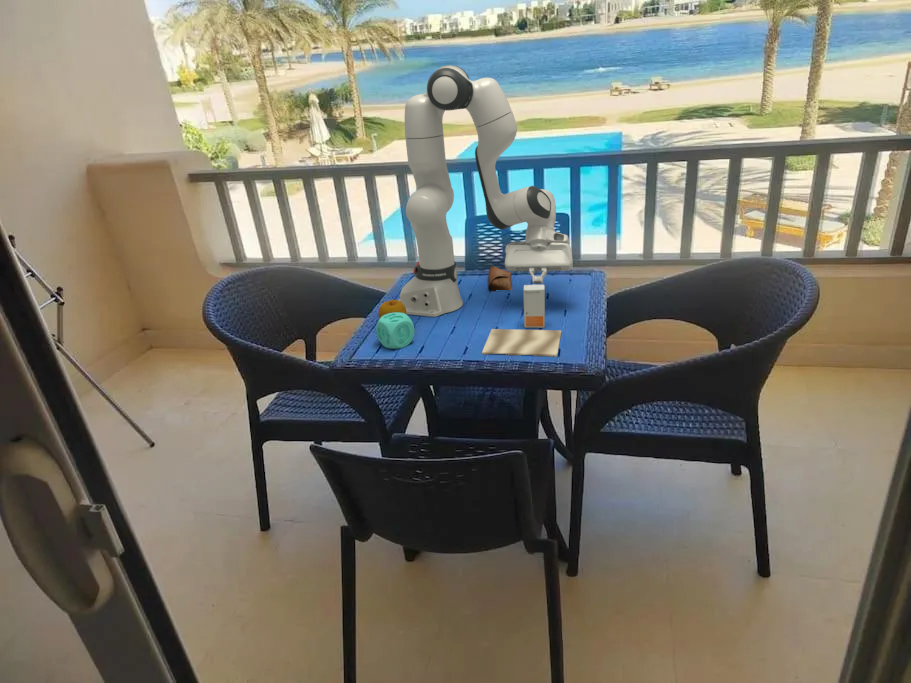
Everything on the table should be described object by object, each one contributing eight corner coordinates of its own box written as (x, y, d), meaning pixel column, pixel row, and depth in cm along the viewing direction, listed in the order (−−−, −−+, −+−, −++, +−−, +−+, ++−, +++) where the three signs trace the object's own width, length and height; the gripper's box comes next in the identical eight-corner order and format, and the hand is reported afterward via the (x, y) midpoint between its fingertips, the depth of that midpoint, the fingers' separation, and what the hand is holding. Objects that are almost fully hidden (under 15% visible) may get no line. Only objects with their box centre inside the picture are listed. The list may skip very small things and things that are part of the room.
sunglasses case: (514, 290, 206) (503, 274, 204) (496, 301, 208) (485, 285, 206) (511, 272, 222) (501, 257, 220) (495, 282, 224) (485, 268, 222)
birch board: (482, 354, 165) (481, 352, 165) (491, 330, 178) (491, 329, 178) (557, 356, 160) (557, 354, 160) (561, 332, 173) (561, 330, 173)
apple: (388, 321, 191) (385, 295, 187) (413, 323, 188) (410, 296, 184) (375, 332, 184) (371, 305, 180) (401, 335, 181) (397, 307, 177)
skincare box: (524, 328, 178) (522, 289, 173) (524, 322, 181) (523, 284, 176) (545, 328, 177) (544, 289, 172) (545, 322, 180) (544, 284, 175)
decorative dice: (400, 334, 181) (396, 309, 178) (416, 342, 175) (413, 316, 172) (377, 343, 177) (373, 318, 173) (393, 351, 171) (389, 325, 168)
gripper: (504, 237, 185) (501, 278, 181) (573, 235, 180) (571, 278, 176) (507, 246, 191) (504, 287, 187) (574, 245, 186) (572, 287, 182)
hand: (537, 283), depth 181 cm, fingers closed
